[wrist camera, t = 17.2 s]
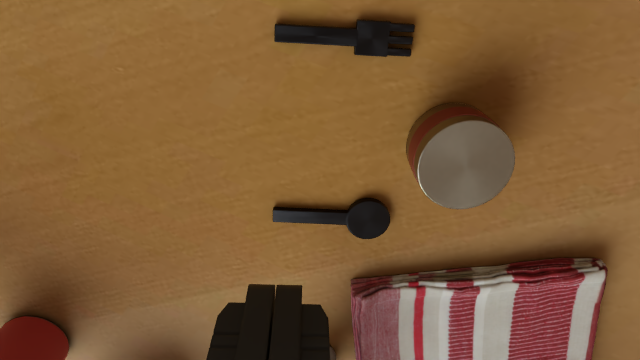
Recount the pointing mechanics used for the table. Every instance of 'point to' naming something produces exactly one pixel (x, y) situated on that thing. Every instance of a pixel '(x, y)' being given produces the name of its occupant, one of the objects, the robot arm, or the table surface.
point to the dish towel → (481, 312)
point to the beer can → (32, 340)
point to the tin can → (459, 156)
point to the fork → (351, 36)
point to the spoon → (342, 217)
